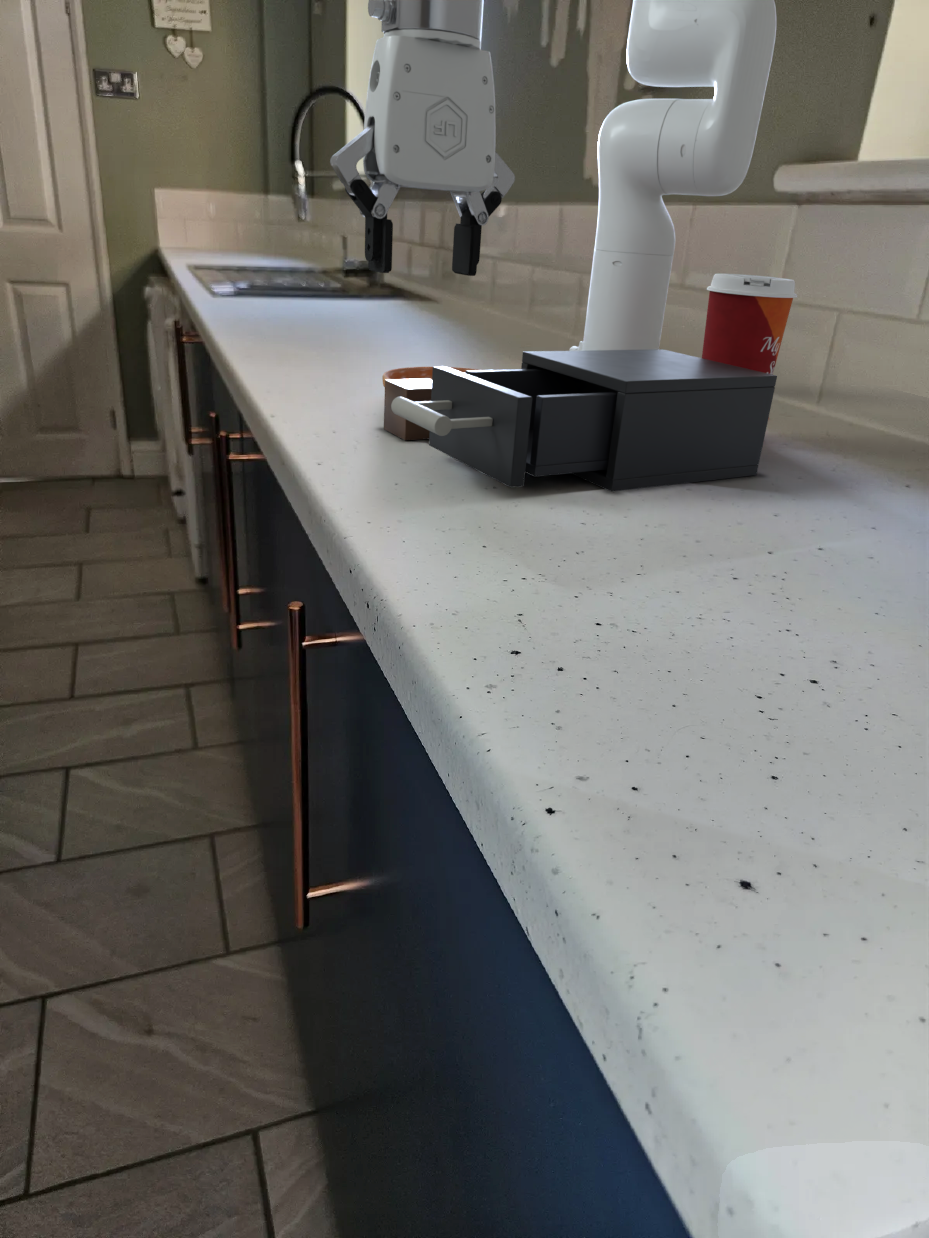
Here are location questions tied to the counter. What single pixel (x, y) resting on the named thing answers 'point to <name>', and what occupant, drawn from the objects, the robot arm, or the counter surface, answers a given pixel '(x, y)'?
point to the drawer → (516, 421)
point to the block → (412, 391)
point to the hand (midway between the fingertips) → (422, 271)
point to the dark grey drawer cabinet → (671, 414)
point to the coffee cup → (747, 320)
